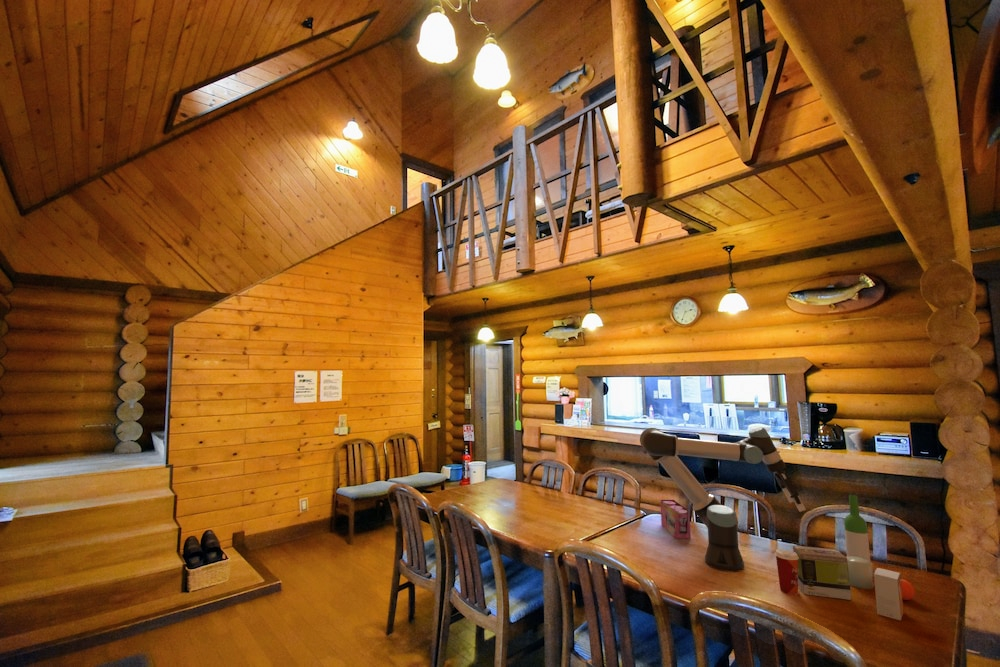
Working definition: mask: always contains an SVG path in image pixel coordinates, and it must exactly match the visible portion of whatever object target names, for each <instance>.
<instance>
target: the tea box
mask: <svg viewBox="0 0 1000 667" xmlns="http://www.w3.org/2000/svg"><path fill="white" fill-rule="evenodd" d="M792 551H793V552H795V553H796V554H797V556H798V557H799V559H798V589H800V590H801V592H802V593H803V594H804V595H808V596H809V595H810V596H816V597H817V596H818V597H825V598H833V599H840V600H847V601H852V600H853V599H852V590H851V585H850V579H849V570H848V561H847V558H846V557H847V556H845V555H844V554H842V553H841V552H840V551H839V550H838V549H836V548H823V547H817V546H816V547H815V546H802V545H792Z"/></svg>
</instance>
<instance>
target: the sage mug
mask: <svg viewBox="0 0 1000 667" xmlns="http://www.w3.org/2000/svg"><path fill="white" fill-rule="evenodd" d="M845 557H846V558H847V561H848V570H849V579H850V587H851V586H852V587H854V588H856V589H857V588H858V589H860V590H861V589H862V590H872V589H873V588H874V586H873V585H874V584H873V578H874V565H873V563H872V562H871V560H870V561H868V560H866V559H863V558H859V557H852V556H847V555H846V556H845Z"/></svg>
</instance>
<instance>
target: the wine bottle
mask: <svg viewBox="0 0 1000 667" xmlns="http://www.w3.org/2000/svg"><path fill="white" fill-rule="evenodd" d="M848 500H849V501H848V502H849V503H848V504H849V514H848V515H847V516H845V518H844V523H843V525H844V535H845V538H844V540H845V548H846V549H845V551H846V557H847V556H852V557H859V558H863V559H866V560H868V561H870V562H871V555H870V546H869V545H870V544H869V533H868V524H867V522H866V520H865V519H864V517H862V516H861V515H860V511H859V509H860V508H859V499H858V496H857V495H855V494H848Z"/></svg>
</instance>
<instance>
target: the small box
mask: <svg viewBox="0 0 1000 667" xmlns="http://www.w3.org/2000/svg"><path fill="white" fill-rule="evenodd" d="M873 575H874V577H873V581H874V591H875V592H874V593H875V604H876V605H875V606H876V614H877V615H879V616H883V617H886V618H891V619H894V620H897V621H902V618H903V615H904V604H903V600H902V590H901V579H902V578H901V572H898V571H894V570H889V569H886V568H885V569H884V568H880V567H877V568H876V569H875V570H874V572H873Z"/></svg>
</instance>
